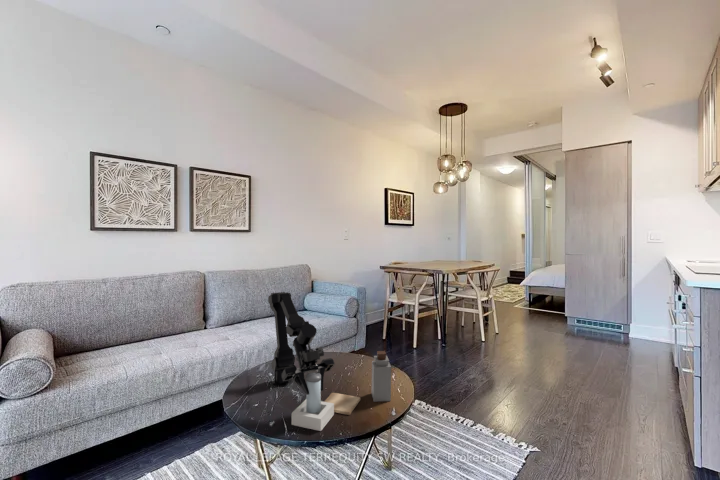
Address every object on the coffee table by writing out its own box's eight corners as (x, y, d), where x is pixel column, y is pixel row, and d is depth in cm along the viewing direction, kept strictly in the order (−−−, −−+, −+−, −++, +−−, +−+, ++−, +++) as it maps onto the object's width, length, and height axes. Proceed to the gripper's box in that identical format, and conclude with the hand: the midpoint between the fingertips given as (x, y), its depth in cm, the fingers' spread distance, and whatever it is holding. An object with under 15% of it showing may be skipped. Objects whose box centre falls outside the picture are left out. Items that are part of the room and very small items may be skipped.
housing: (291, 424, 117) (291, 413, 116) (306, 409, 127) (306, 398, 127) (320, 431, 113) (320, 419, 113) (333, 414, 123) (334, 403, 123)
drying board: (319, 409, 127) (319, 406, 127) (332, 394, 138) (332, 392, 138) (349, 415, 123) (349, 412, 123) (360, 399, 134) (360, 397, 134)
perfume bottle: (371, 393, 140) (372, 349, 140) (387, 392, 141) (388, 349, 140) (373, 401, 133) (374, 355, 133) (390, 401, 134) (391, 355, 133)
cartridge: (303, 411, 118) (303, 377, 118) (310, 404, 123) (310, 371, 123) (316, 414, 117) (317, 379, 116) (323, 407, 122) (323, 373, 121)
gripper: (284, 344, 118) (295, 388, 109) (332, 336, 128) (346, 376, 118) (277, 359, 125) (287, 402, 116) (323, 350, 134) (336, 389, 125)
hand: (315, 392), depth 119 cm, fingers closed on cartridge, 5 cm apart
